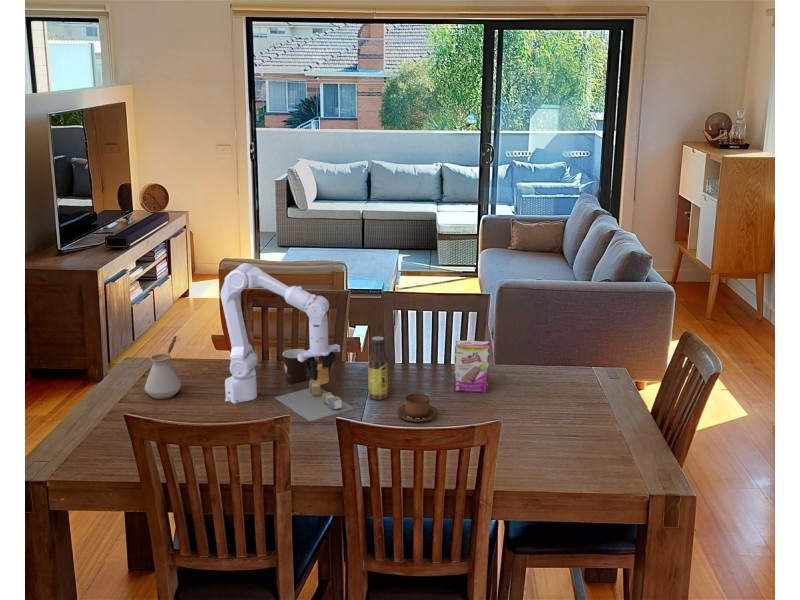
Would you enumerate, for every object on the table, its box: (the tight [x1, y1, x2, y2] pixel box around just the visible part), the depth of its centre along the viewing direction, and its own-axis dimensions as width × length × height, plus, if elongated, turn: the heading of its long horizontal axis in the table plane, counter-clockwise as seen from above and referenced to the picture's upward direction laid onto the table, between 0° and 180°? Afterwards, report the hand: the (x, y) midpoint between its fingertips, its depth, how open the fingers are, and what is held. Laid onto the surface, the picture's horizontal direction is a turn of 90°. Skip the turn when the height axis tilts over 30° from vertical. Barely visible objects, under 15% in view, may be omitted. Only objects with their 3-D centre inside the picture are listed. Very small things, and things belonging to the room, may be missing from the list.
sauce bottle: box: [367, 335, 389, 401], centre depth 280 cm, size 7×6×20 cm
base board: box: [274, 387, 355, 422], centre depth 274 cm, size 16×22×2 cm
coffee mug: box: [282, 348, 308, 385], centre depth 295 cm, size 12×9×10 cm
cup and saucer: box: [396, 393, 438, 423], centre depth 267 cm, size 12×12×6 cm
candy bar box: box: [453, 339, 491, 394], centre depth 286 cm, size 11×5×16 cm, turn 84°
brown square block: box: [310, 363, 330, 386], centre depth 273 cm, size 4×4×5 cm
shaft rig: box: [308, 379, 343, 411], centre depth 276 cm, size 6×20×4 cm, turn 36°
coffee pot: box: [144, 335, 182, 400], centre depth 287 cm, size 21×12×15 cm, turn 174°
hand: (319, 377), depth 273 cm, fingers closed on brown square block, 4 cm apart
